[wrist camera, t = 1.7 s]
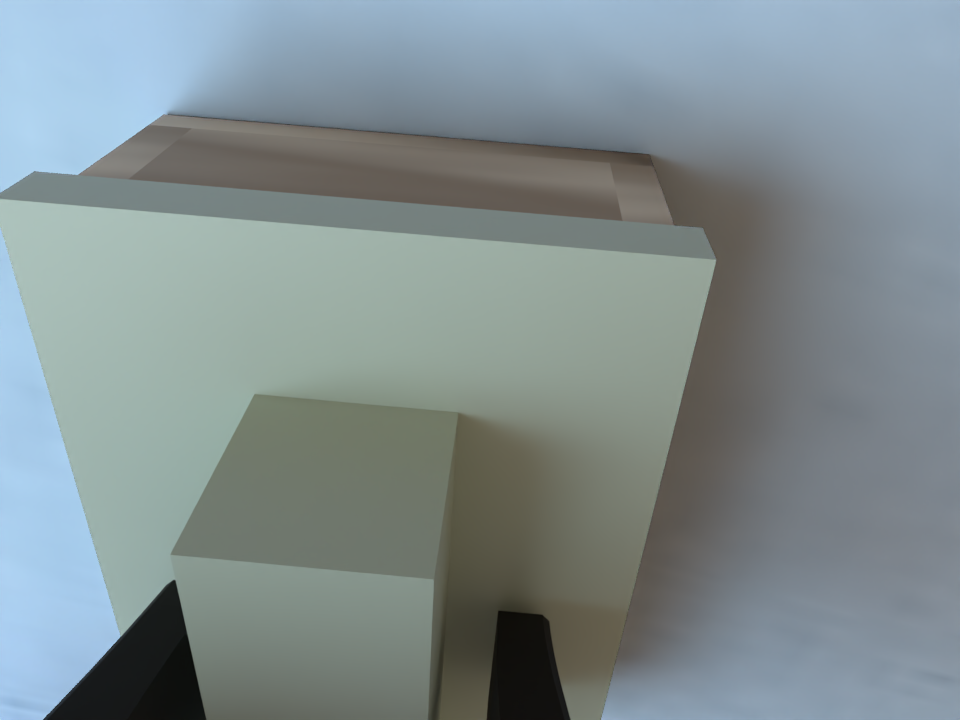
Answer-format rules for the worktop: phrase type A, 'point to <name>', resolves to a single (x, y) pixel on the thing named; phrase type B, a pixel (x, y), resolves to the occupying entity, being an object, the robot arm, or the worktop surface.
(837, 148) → the worktop surface
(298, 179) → the box
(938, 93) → the worktop surface
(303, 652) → the lid
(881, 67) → the worktop surface
